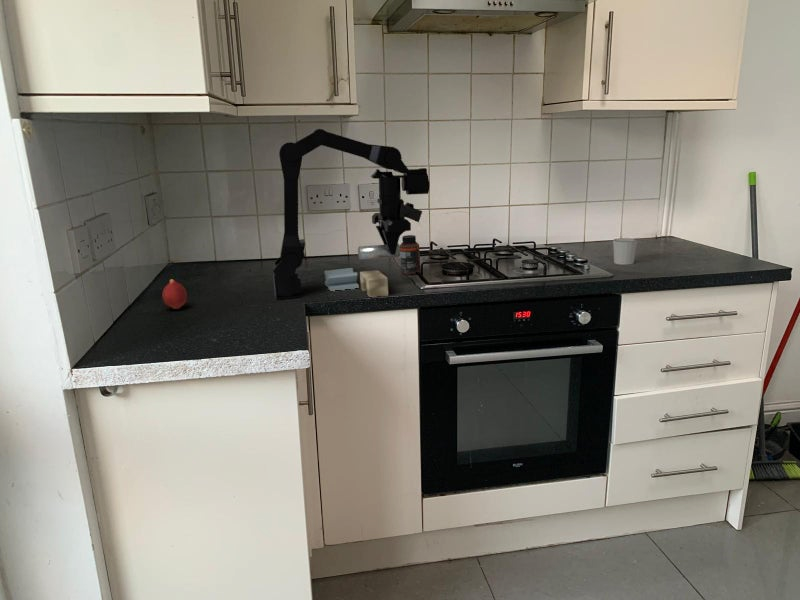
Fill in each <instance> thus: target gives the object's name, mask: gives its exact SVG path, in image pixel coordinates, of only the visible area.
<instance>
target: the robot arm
mask: <svg viewBox="0 0 800 600" xmlns="http://www.w3.org/2000/svg"><path fill="white" fill-rule="evenodd" d="M320 146H322V147H323V146H324V147H327V148H329V149H333V150H337V151H338V152H339V151H340V152H343V153H347V154H350V155H353V156H357V157H359V158H363V159H365V160H367V161H368V162H371V163H373V164H375V165H377V166H378V167H381V168H383V169H386V170H389V171H381V170H380V168H376V169H375V171H374V173H372V174H371V175H370V177H371V178H372V179H378V198H377V201H376V202H377V203H378V204H379V212H374V213H373V215H372V216H371V223H372V224H374V225H376V226H375V228H376V230H377V231H378V234H379V236H380V239H381V240H382V243H383V245H388V248H389V251H390V253H391V255H395V253H396V249H397V245H398V244H399V241H400V237H401V235H403V233H406V232H409V231H412V224H411V222H410V221H409V220H412V221H415V222H417V223H419V222H420V220H421V217H422V214H423V210H420V209H417V208H415V206H414V204H413V203H410V202H408V201H407V202H406V203H405V201H404V200H403V198H401V197H402V196H401V190H402V191H403V192H405V194H406V195H409V196H411V195H428V194H429V192H430V186H431V185H430V180H429V175H428V168H426V167H421V168H411V169H409V168H408V166H407V165H406V164H405V163H404V161H403V160H402V157H403V156H402V153H401V152H400V150H399V149H398V148H396V147H394V146H388V145H378V144H370V143H365V142H361V141H360V140H356V139H352V138H349V137H346V136H343V135H339V134H335V133H333V132H329V131H327V130H324V129H323V128H318V129H315V130H314V131H313V132H311V133H309V134H308V135H307V136H305V137H303V138H300V140H297V141H295V142H292V141H291V142H290V141H289V142H285V143H284V144H282V146H280V149H279V152H278V154H279V161H280V167H281V173H282V177H283V217H284V218H283V221H284V222H283V224H284V227H283V228H284V229H283V236H282V242H281V248H280V256H279V257H278V259H277V260H275V262H274V263H273V270H272V271H273V273H272V278H273V279H272V280H273V286H274V287H273V289H274V292H273V293H274V294H273V295H274V297H275V300H276V301H277V300H285V299H295V298H301V297H302V296H301V295H302V283H301V282H302V281H301V278H300V276H299V274H298V272H297V269H299V267H300V266H302V264H303V261H304V259H306V254H305V246H306V241H305V239H304V238H302V239H300V237H299V177H300V173H301V169H302V163H303V162H302V161H303V157H304V156H306V155H307V154H309V153H310V152H313V151H314V150H316V149H317V148H319V147H320ZM390 170H391V171H390ZM392 170H393V171H394V172H396V173H400V174H399V175H398V174H393V172H392ZM406 218H407V219H406ZM408 219H409V220H408ZM377 223H378V225H377Z"/></svg>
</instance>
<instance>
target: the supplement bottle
mask: <svg viewBox="0 0 800 600" xmlns="http://www.w3.org/2000/svg"><path fill="white" fill-rule="evenodd" d="M416 237H417V236H416V235H414V234H407V235H403V236H402V237H401V239H402V240H401V241H402V243H399V245H400V251H401V252H400V256H399V260H400V261H399V262H400V273H401V274H402V275H405V276H412V275H411V274H414V273H416V272H420V273H421V253H420V252H421V251H420V243H418V242H417V241H416V239H417V238H416Z"/></svg>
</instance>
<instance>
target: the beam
mask: <svg viewBox="0 0 800 600" xmlns="http://www.w3.org/2000/svg"><path fill="white" fill-rule="evenodd" d="M359 278H360V280H359V282H360V289H361V291H362V292H366V296H367V295H368V296H369V297H372V298H378V297H377V296H381V297H388V296H389V284H388V282H389V281H388V277H387V276H386V275H385V274H383V273H382V272H381V271H379V270H378V269H375V270H374V269H373V270H366V271H359ZM366 290H367V291H366ZM368 296H367V297H368ZM369 297H368V298H369Z"/></svg>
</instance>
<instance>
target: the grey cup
mask: <svg viewBox="0 0 800 600" xmlns="http://www.w3.org/2000/svg"><path fill="white" fill-rule="evenodd" d="M637 243H638V240H637V239H635V238H629V237H628V238H627V237H625V238H623V237H620V238H614V239H613V241H612V245H613V262H614V264H616V265H624V266H625V265H627V266H628V265H633V264H634V263H635V257H636V252H637V245H638V244H637Z"/></svg>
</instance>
